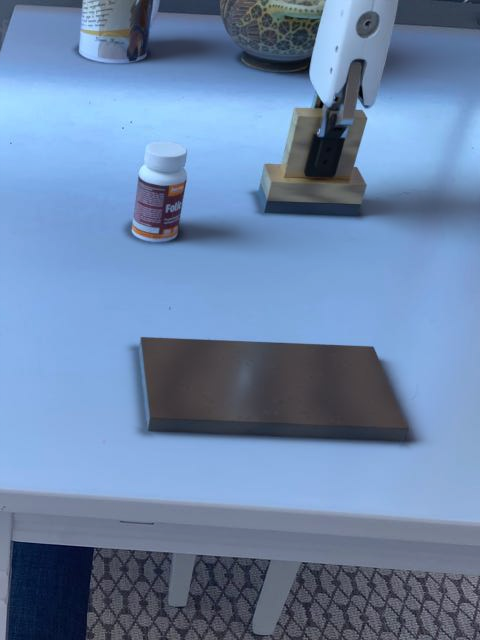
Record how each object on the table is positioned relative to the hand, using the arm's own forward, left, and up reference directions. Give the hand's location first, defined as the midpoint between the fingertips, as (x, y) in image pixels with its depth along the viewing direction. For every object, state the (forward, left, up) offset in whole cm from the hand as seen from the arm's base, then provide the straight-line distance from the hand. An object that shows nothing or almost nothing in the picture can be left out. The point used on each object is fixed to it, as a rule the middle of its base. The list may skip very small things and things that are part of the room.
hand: (316, 168), depth 99 cm
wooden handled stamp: (0, 0, -4) cm, 4 cm away
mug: (+18, -50, -4) cm, 53 cm away
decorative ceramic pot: (-4, -48, -4) cm, 48 cm away
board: (+10, +37, -4) cm, 38 cm away
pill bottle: (+17, +8, -4) cm, 19 cm away
